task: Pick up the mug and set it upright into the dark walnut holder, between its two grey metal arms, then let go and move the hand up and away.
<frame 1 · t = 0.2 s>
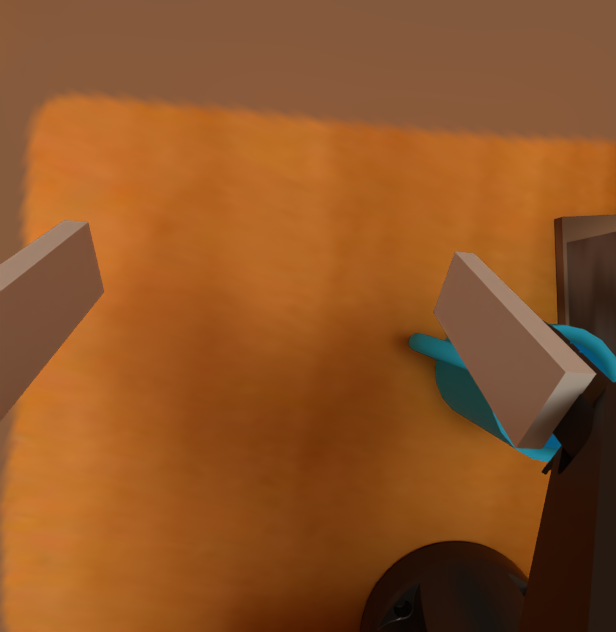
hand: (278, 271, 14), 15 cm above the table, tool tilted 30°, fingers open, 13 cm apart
mug: (461, 361, 30), on the table
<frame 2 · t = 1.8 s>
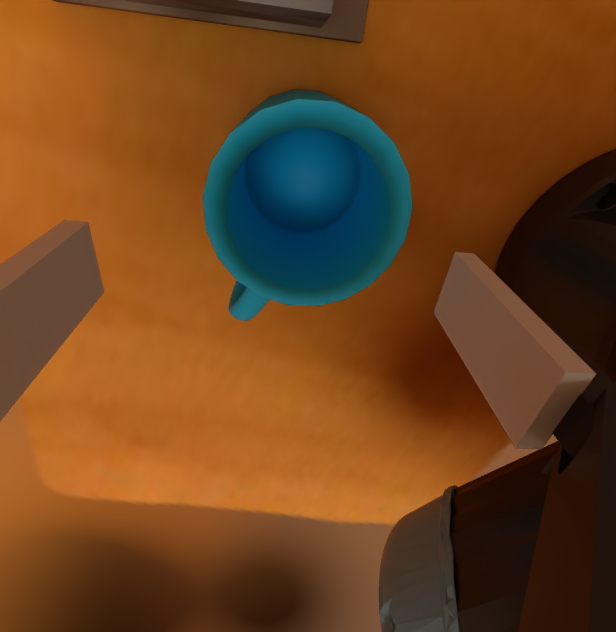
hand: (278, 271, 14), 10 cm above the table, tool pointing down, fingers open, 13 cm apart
mug: (286, 199, 22), on the table
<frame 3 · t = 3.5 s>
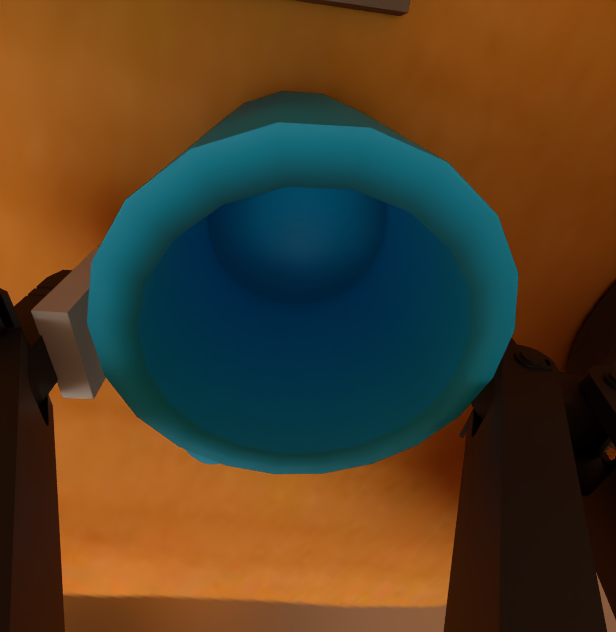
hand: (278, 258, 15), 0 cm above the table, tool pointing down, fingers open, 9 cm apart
mug: (273, 254, 15), on the table
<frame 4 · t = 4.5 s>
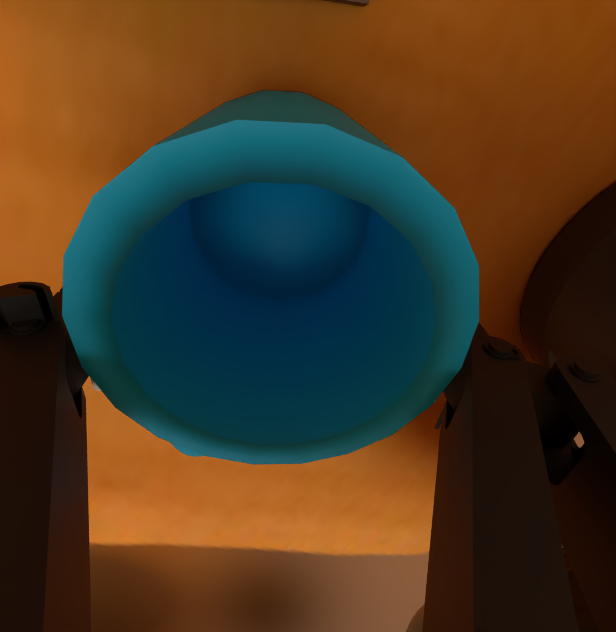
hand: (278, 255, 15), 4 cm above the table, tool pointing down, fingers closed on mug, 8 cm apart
mug: (259, 251, 15), point 3 cm above the table, touching gripper
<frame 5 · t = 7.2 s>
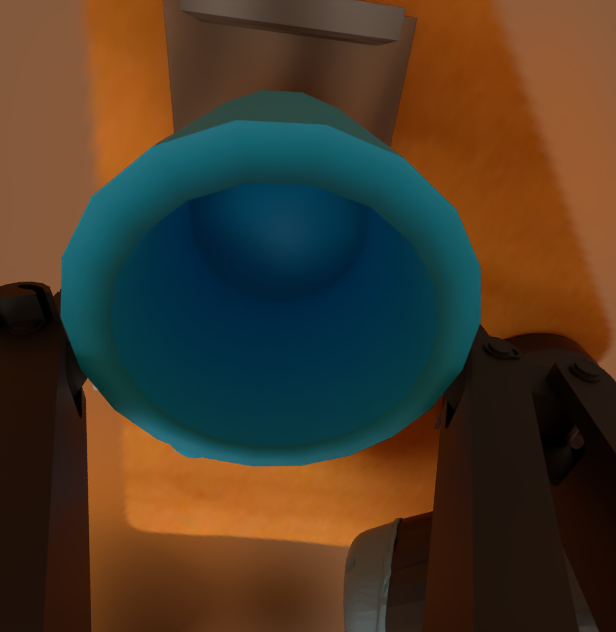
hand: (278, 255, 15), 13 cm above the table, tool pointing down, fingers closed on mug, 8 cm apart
holder: (282, 176, 26), on the table
mug: (259, 251, 15), point 13 cm above the table, touching gripper
when the fingers open (2 cm above the table, at t = 9.9 s): mug moves 1 cm, resting on holder.
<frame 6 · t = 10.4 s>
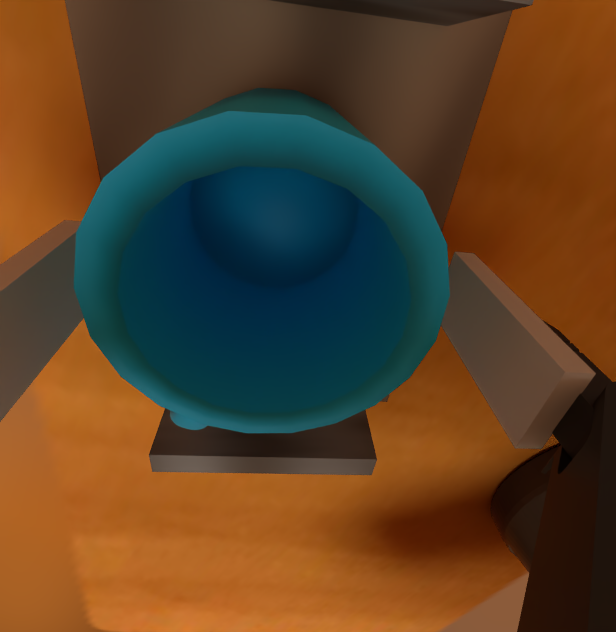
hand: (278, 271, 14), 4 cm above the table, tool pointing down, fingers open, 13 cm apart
holder: (279, 235, 17), on the table
mug: (256, 241, 16), point 1 cm above the table, touching holder
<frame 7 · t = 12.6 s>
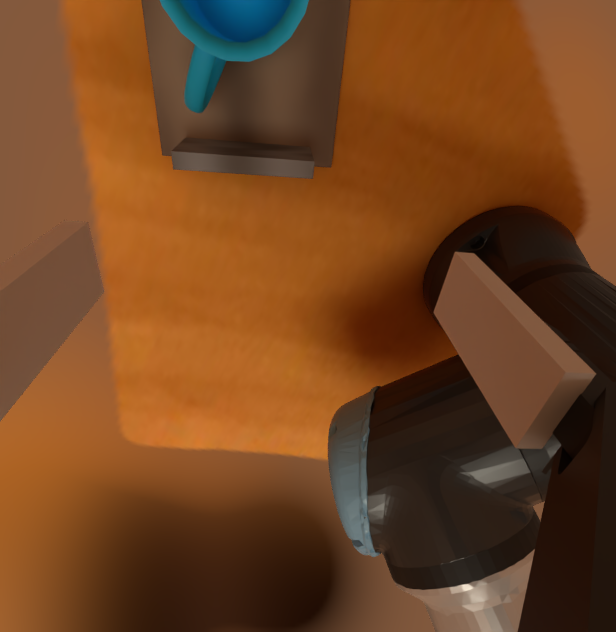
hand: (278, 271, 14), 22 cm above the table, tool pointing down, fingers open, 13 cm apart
holder: (248, 17, 26), on the table
mug: (233, 17, 26), point 1 cm above the table, touching holder
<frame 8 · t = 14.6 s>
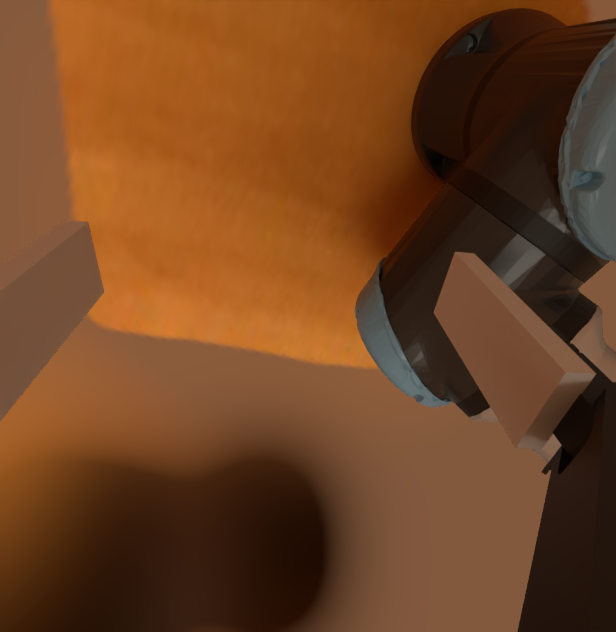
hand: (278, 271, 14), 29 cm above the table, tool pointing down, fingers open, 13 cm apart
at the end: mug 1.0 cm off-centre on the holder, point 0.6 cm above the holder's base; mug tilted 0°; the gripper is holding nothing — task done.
